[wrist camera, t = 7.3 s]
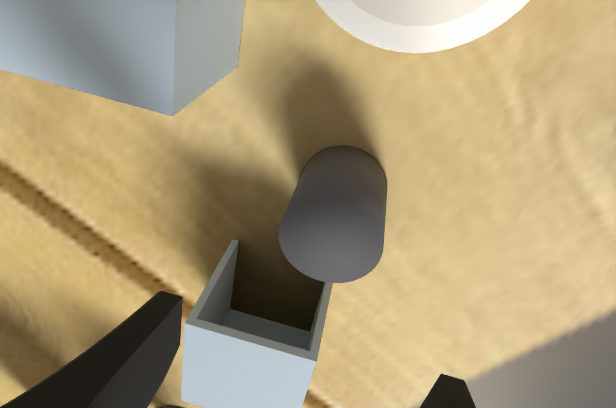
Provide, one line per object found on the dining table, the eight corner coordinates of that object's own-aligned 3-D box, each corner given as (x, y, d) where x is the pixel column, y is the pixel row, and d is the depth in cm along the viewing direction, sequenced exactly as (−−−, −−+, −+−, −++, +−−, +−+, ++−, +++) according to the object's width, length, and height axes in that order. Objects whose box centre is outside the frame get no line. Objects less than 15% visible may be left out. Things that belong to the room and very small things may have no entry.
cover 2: (223, 311, 26) (181, 400, 21) (232, 238, 23) (184, 323, 18) (314, 337, 26) (292, 433, 21) (335, 267, 22) (316, 361, 17)
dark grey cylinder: (294, 208, 21) (271, 266, 17) (311, 135, 19) (288, 183, 15) (373, 230, 21) (366, 294, 17) (399, 159, 19) (398, 214, 15)
